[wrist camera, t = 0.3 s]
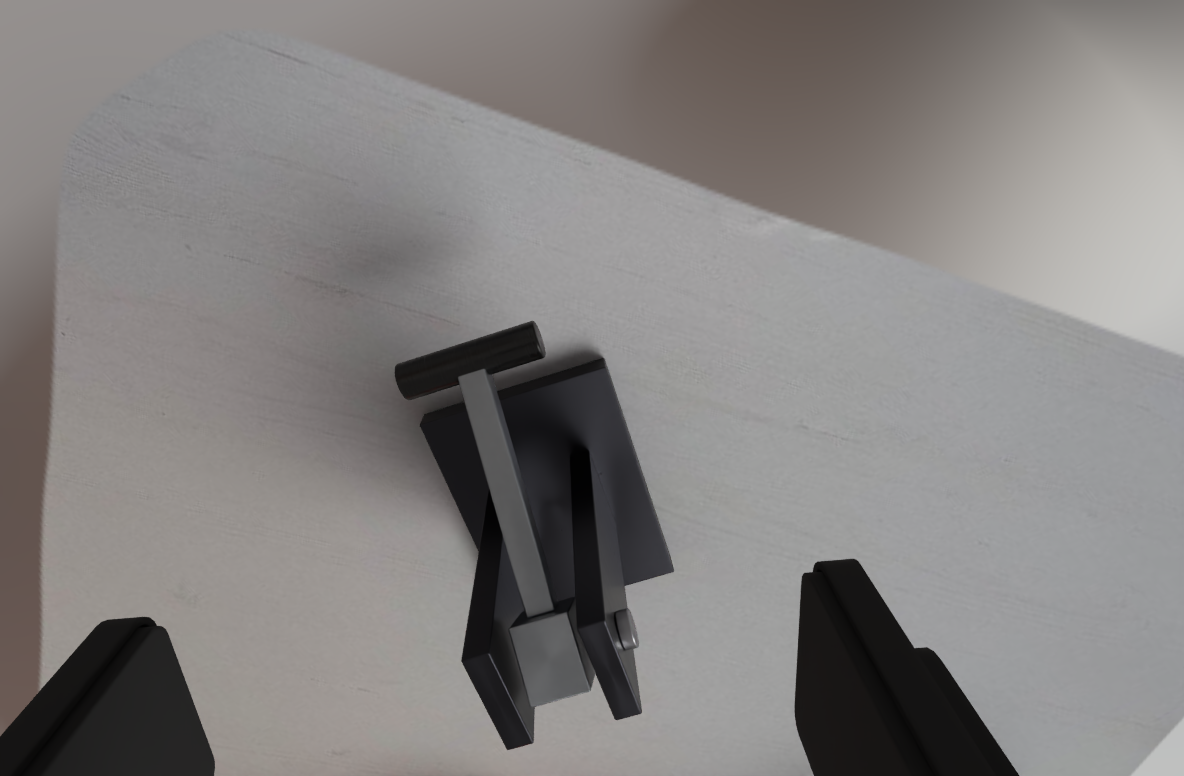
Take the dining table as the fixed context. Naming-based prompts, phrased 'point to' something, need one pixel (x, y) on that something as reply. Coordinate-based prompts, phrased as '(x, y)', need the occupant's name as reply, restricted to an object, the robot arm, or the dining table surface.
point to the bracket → (556, 533)
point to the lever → (511, 506)
